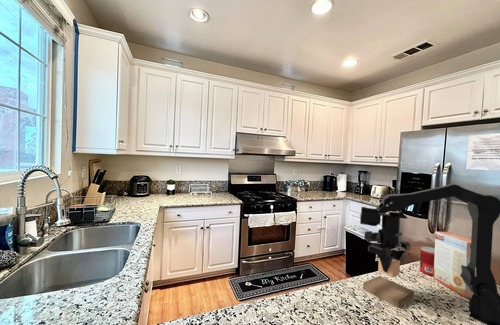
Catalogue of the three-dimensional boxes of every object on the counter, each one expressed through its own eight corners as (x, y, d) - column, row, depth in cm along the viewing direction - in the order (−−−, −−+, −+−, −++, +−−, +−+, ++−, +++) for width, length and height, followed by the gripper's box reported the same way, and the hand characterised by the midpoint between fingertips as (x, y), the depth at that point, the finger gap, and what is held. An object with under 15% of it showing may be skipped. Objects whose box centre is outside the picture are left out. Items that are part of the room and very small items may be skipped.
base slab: (413, 299, 77) (414, 291, 77) (397, 309, 70) (398, 300, 70) (379, 283, 87) (379, 275, 87) (362, 290, 81) (363, 282, 81)
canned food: (447, 279, 92) (447, 254, 93) (426, 276, 94) (427, 251, 94) (435, 270, 100) (436, 247, 100) (416, 268, 102) (417, 245, 102)
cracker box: (481, 299, 78) (483, 243, 79) (464, 298, 78) (466, 242, 79) (446, 279, 92) (448, 231, 93) (432, 278, 92) (434, 230, 93)
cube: (399, 274, 78) (400, 260, 78) (392, 277, 75) (393, 263, 76) (385, 268, 82) (385, 255, 82) (378, 271, 80) (378, 257, 80)
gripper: (382, 221, 91) (380, 257, 90) (355, 224, 82) (353, 265, 81) (412, 228, 81) (410, 268, 81) (385, 233, 72) (384, 279, 72)
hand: (389, 270), depth 79 cm, fingers closed on cube, 5 cm apart
